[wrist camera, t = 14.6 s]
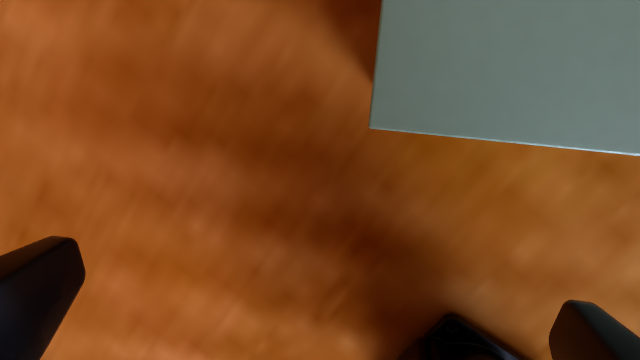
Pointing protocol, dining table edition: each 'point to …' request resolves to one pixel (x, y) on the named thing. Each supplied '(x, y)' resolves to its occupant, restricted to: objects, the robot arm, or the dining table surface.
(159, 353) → the dining table surface
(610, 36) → the drawer box
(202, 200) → the dining table surface
